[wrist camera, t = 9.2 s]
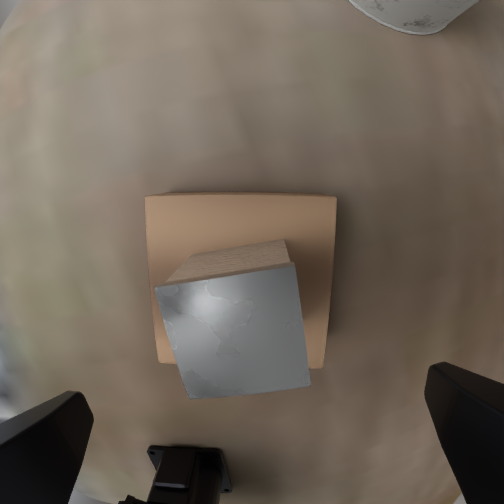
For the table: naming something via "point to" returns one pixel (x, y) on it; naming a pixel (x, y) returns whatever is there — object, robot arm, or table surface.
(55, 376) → the table surface
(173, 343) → the grey cube
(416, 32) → the white cylinder
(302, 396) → the table surface
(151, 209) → the tan block
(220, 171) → the table surface
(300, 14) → the table surface
